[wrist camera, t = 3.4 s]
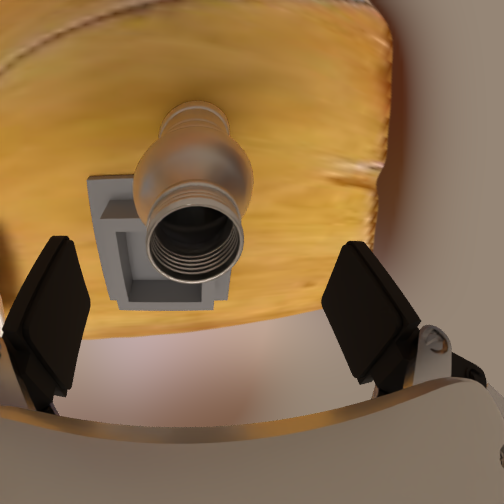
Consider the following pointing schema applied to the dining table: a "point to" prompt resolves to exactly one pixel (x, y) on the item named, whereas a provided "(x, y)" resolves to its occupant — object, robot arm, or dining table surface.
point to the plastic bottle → (193, 195)
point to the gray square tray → (138, 255)
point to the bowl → (1, 317)
